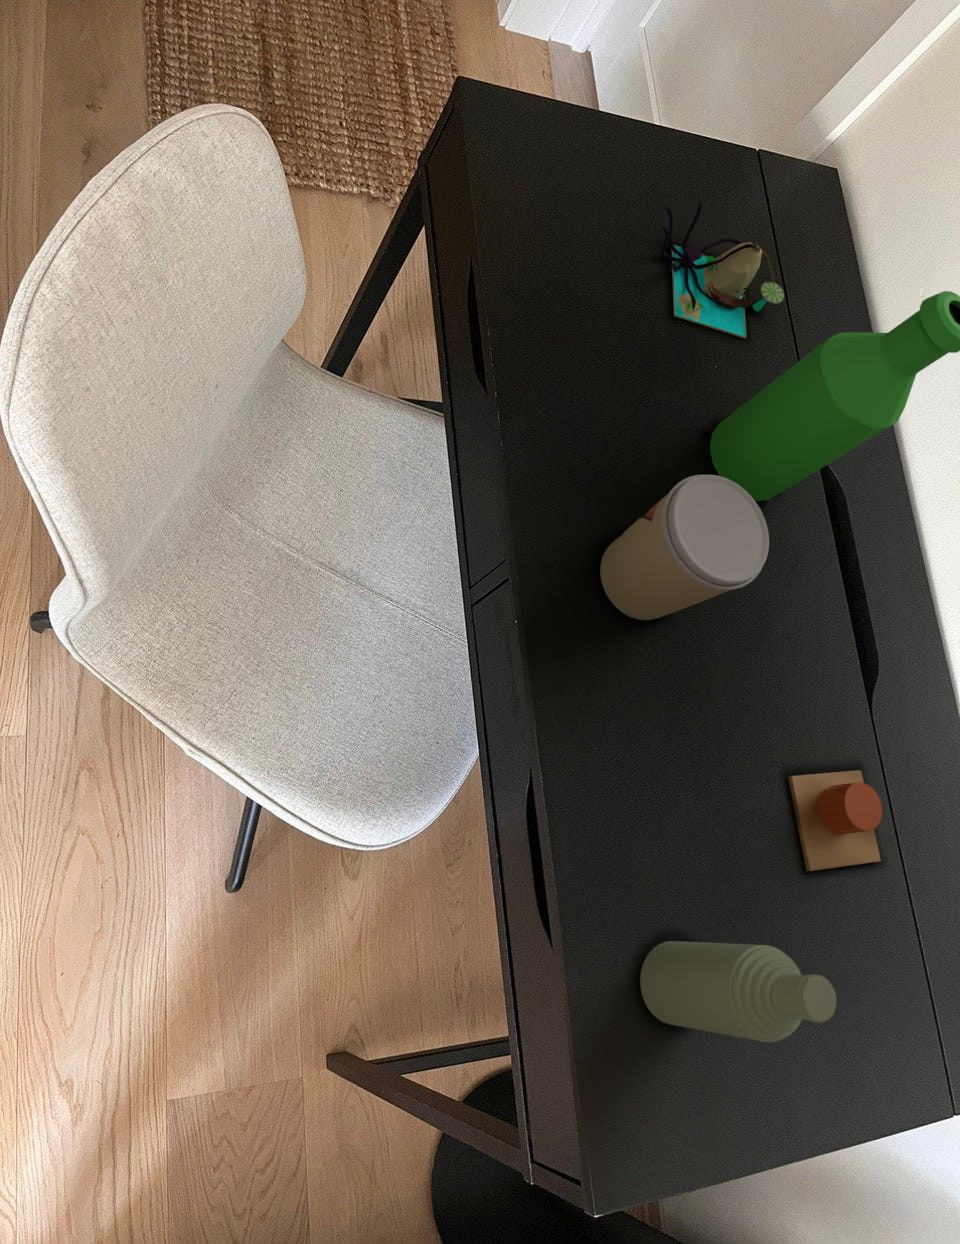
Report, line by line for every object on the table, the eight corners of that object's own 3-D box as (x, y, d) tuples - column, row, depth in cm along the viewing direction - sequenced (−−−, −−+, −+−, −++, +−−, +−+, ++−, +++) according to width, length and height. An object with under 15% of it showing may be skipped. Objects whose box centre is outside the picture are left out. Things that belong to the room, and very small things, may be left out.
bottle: (690, 431, 87) (894, 268, 65) (754, 413, 91) (967, 253, 69) (730, 515, 86) (951, 377, 64) (793, 493, 90) (1022, 356, 68)
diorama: (766, 345, 95) (803, 314, 90) (640, 305, 90) (672, 270, 85) (759, 254, 98) (794, 220, 94) (637, 211, 93) (668, 173, 88)
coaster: (877, 861, 82) (881, 861, 81) (806, 871, 78) (810, 871, 78) (857, 770, 84) (861, 770, 83) (787, 776, 80) (791, 776, 80)
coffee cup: (666, 523, 83) (751, 466, 73) (696, 622, 81) (788, 578, 71) (578, 533, 79) (654, 475, 69) (608, 637, 77) (691, 593, 67)
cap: (849, 785, 82) (876, 780, 79) (858, 832, 81) (886, 829, 78) (813, 787, 81) (840, 783, 78) (822, 835, 79) (849, 832, 77)
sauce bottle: (717, 1004, 72) (873, 1025, 58) (657, 1038, 69) (805, 1070, 55) (688, 928, 73) (834, 931, 58) (628, 960, 70) (766, 971, 56)
